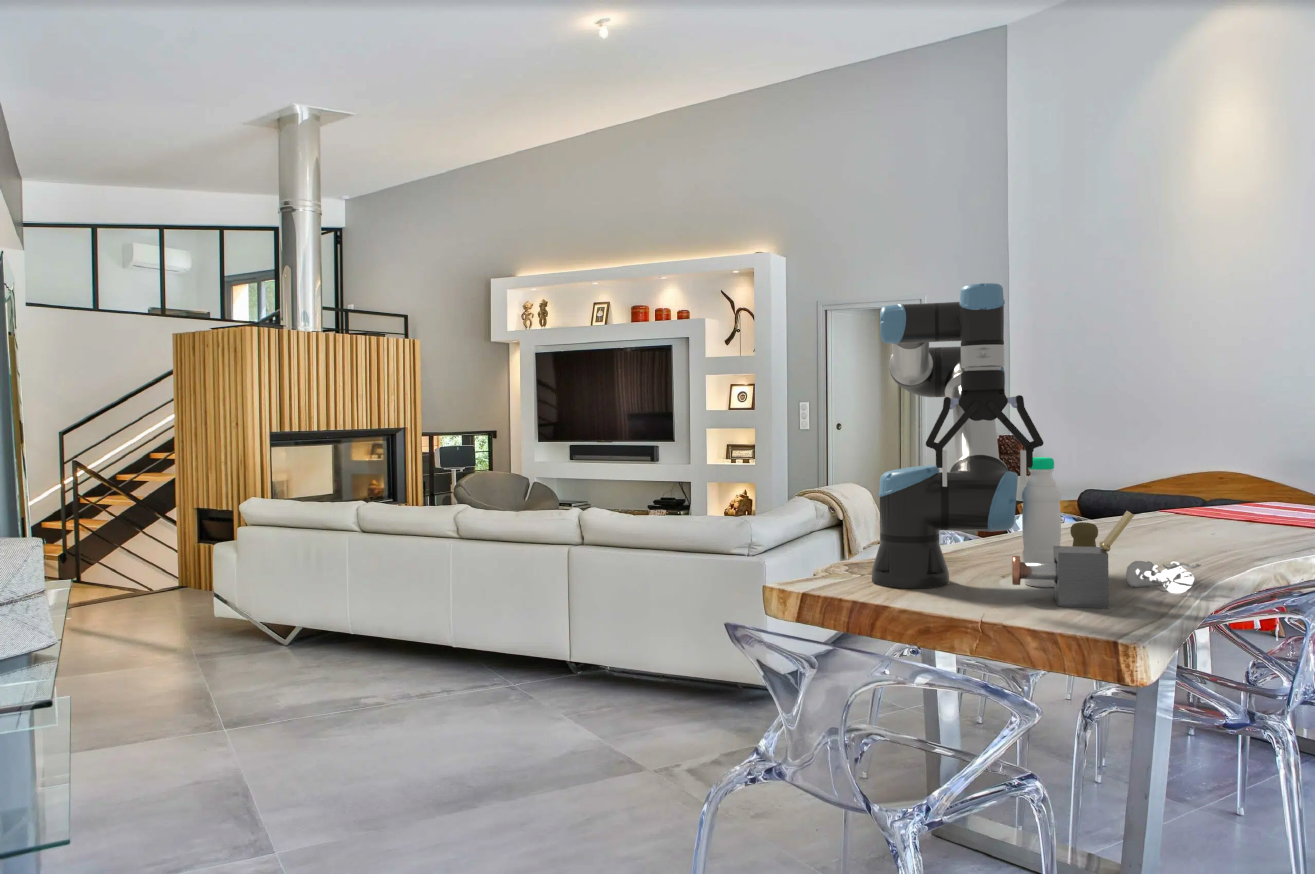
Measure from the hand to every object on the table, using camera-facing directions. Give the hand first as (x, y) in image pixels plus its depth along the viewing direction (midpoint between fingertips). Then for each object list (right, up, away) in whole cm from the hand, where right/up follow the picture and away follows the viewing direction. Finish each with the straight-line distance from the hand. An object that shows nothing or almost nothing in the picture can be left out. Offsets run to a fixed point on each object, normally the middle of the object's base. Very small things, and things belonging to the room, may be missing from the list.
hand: (983, 486), depth 174 cm
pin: (+11, -18, -3) cm, 21 cm away
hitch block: (+16, -21, -5) cm, 26 cm away
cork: (+28, -20, +21) cm, 40 cm away
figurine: (+35, -20, +5) cm, 41 cm away
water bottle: (+16, -20, +13) cm, 29 cm away
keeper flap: (+22, -8, -7) cm, 24 cm away
